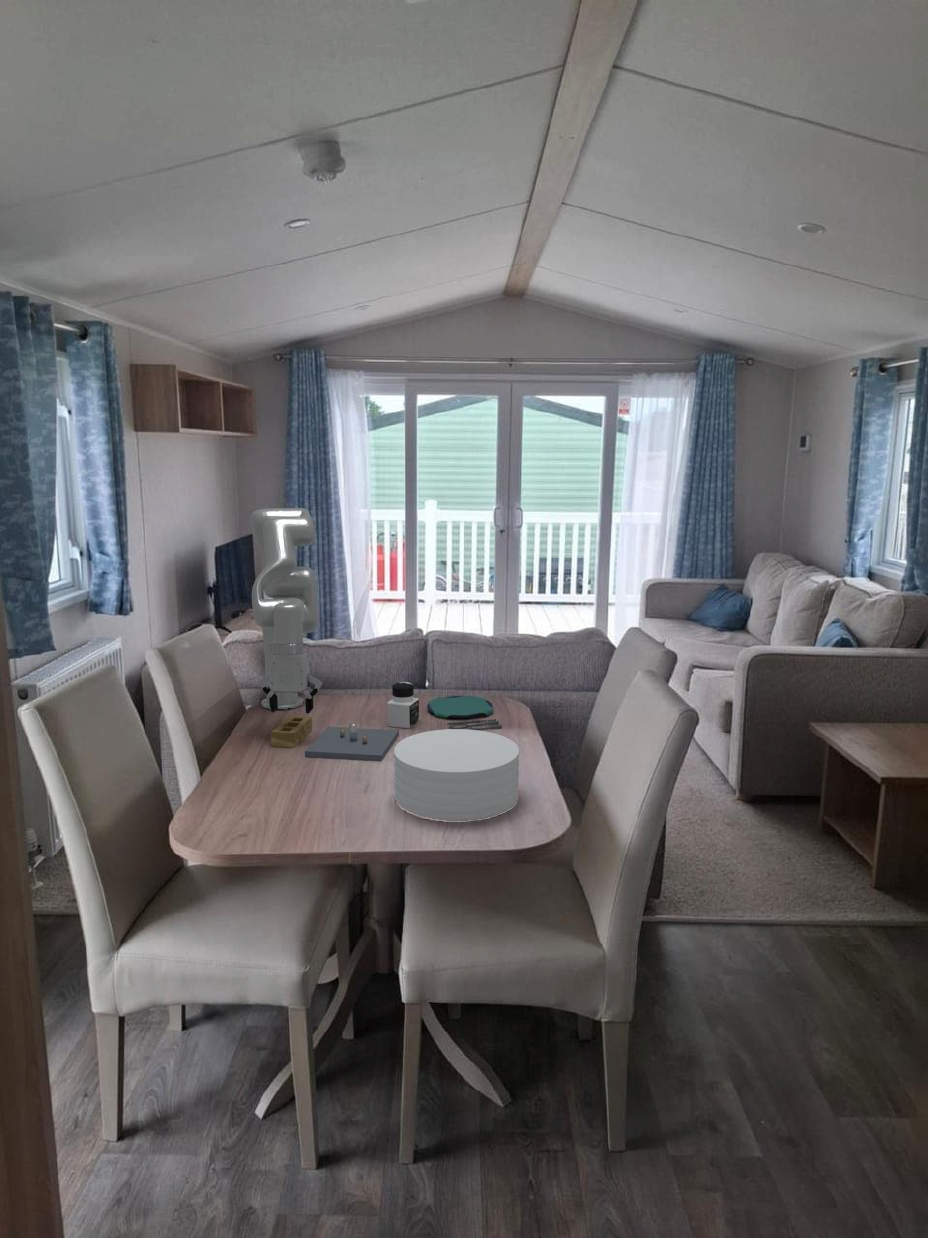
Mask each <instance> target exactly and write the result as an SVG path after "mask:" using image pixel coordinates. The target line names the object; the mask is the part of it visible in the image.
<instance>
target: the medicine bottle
mask: <svg viewBox="0 0 928 1238" xmlns="http://www.w3.org/2000/svg"><path fill="white" fill-rule="evenodd" d="M391 690H392V692H391V693H392V694H391V699H390V700H389V701H387V702H386V723H387V724H386V725H387V727H391V728H401V729H412V728H413V727H414V726H415V725H417V723H419V721H420V699H419V698H418V697H415V696H414V693H415V692H414V685H413V683H411V682H408V681H407V682H406V681H401V682H400V681H399V682H395V683H394V684H392V686H391Z"/></svg>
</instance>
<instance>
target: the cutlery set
mask: <svg viewBox="0 0 928 1238" xmlns="http://www.w3.org/2000/svg"><path fill="white" fill-rule="evenodd" d="M426 707H427V710H428V711H429V712H430V713H432V714H434V715H435V716H436V717H437V718H441V719H447V718H456V719H461V718H462V719H467V718H473V717H478V716H479V717H480V716H482V715H487V717H489V716H490V715H492V714H493V711H494V710H493V703H492V702H490V701H489V700H487V699H486V698H485V697H479V696H477V695H470V694H469V695H468V694H467V695H452V696H441V697H439V696H438V697H436V698H433V699H431V700H430V701H428V702H427V705H426ZM447 725H448V727H449V729H450V728H451V729H468V730H479V731H486V730H487V731H488V730H496V729H497V730H498V729H500V730H501V729H502V728H503V725H502V724H499V721H498V720H497V719H496V718H495V719H472V720H465V721H464V720H463V721H462V720H460V721H451V722H447ZM485 725H491V726H487V727H478V726H485ZM460 726H462V727H460Z"/></svg>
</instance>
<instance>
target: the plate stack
mask: <svg viewBox="0 0 928 1238" xmlns="http://www.w3.org/2000/svg"><path fill="white" fill-rule="evenodd" d="M393 757H394V760H393V768H394V771H393V778H394V782H393V783H394V785H393V786H394V788H393V789H394V801H395V800H396V802H397V803H398V804H399V805H400V806H401V807H402V808H404V809H406V810H408V811H410V812H412V813H414V814H417V815H420V816H423V817H428V818H432V819H439V820H447V821H468V820H478V819H483V818H488V817H492V816H495V815H498V814H500V813H503V812H505V811H507V810H508V809H510V808H512V807H513V806H514V805H515V804H516V802H517V801H518V802H519V785H520V784H519V779H520V772H519V771H520V770H519V769H520V759H519V758H520V748H519V746H518V744H516V742H514V741H513V740H512V739H509V737H506V736H503V735H501V734H497V733H494V732H490V731H486V730H468V729H465V728H463V729H454V728H451V729H450V728H449V729H448V728H447V729H436V730H429V731H423V732H419V733H415V734H413V735H409V736H407V737H406V738H404V739H402V740H400V741H399V742H398V743H397V744H395V746H394V748H393ZM396 802H395V803H396ZM518 802H517V803H518ZM516 805H517V804H516Z"/></svg>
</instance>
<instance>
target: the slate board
mask: <svg viewBox="0 0 928 1238" xmlns="http://www.w3.org/2000/svg"><path fill="white" fill-rule="evenodd" d="M341 729H344V730H345V737H344V738H341V737H340V730H341ZM362 736H367V744H363V741H362ZM399 736H400V730H398V729H384V728H366V727H365V728H362V727H357V741H354V742H352V741H350V729H349V727H345V726H344V727H342V726H327V727H326V729H325V730H323V732H322V733H321V734H320V735H319V736H318V737H317V738H316V739H315V740H314V741H313V742H312V743H311V744H310V745H309V746H308V747H307V748H306V749H305V750H304V757H305V758H307V757H308V758H322V759H323V758H325V759H338V760H339V759H340V760H354V759H356V760H357V761H373V762H376V761H377V762H382V761H383V759H384V758H385V757H386V755H387V754H388V752H390V751H389V750H390V749H392V747H393V745H394V743H395V742H396V740H397V739H398V738H399Z"/></svg>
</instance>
